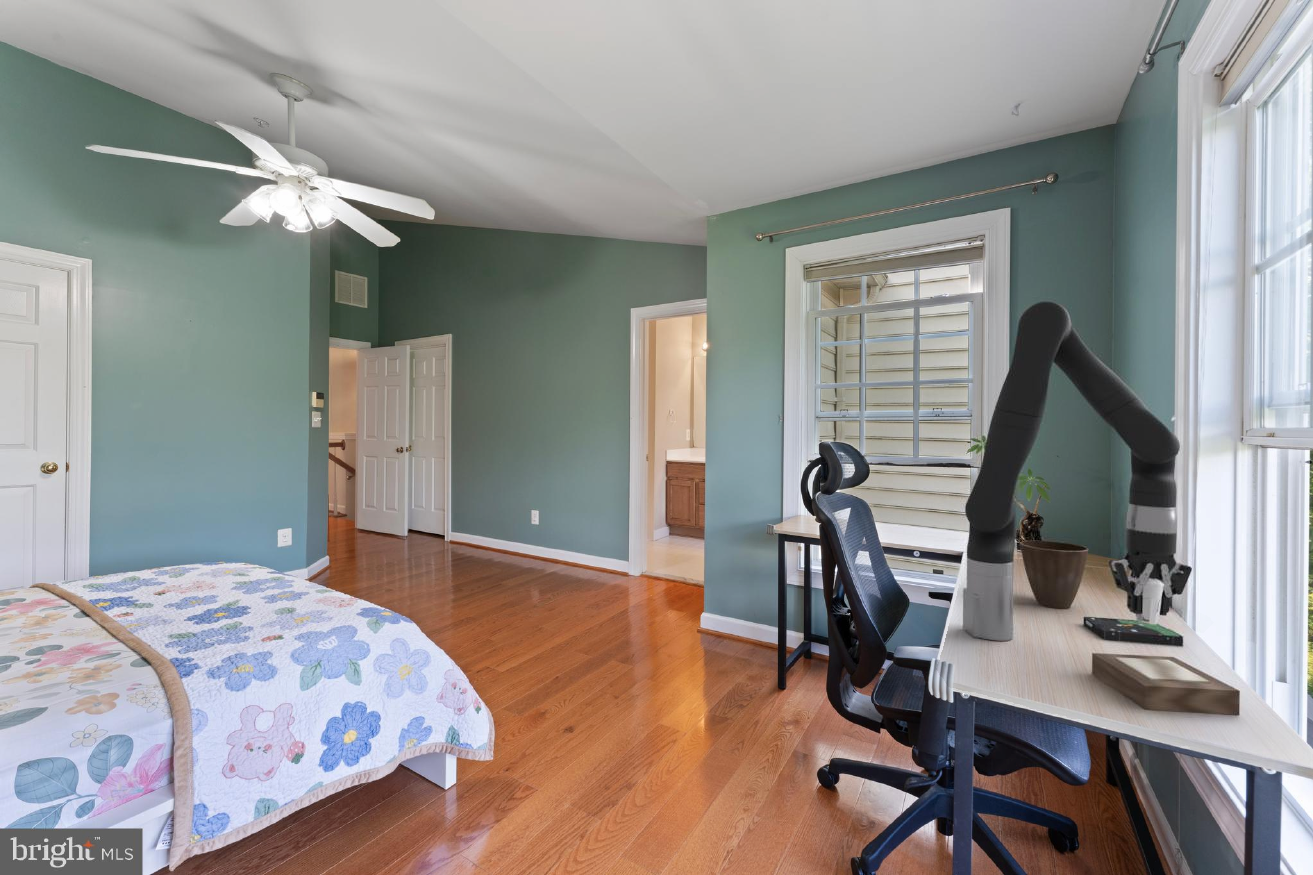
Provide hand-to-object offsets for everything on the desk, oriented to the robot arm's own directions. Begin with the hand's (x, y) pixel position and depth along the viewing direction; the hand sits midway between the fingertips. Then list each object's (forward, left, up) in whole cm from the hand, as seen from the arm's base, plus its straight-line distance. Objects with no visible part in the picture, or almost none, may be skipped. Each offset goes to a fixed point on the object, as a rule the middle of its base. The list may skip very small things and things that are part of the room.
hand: (1147, 613), depth 112 cm
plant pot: (+3, +40, -11) cm, 41 cm away
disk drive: (+8, +18, -11) cm, 22 cm away
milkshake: (0, 0, -2) cm, 2 cm away
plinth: (-7, -13, -10) cm, 18 cm away
